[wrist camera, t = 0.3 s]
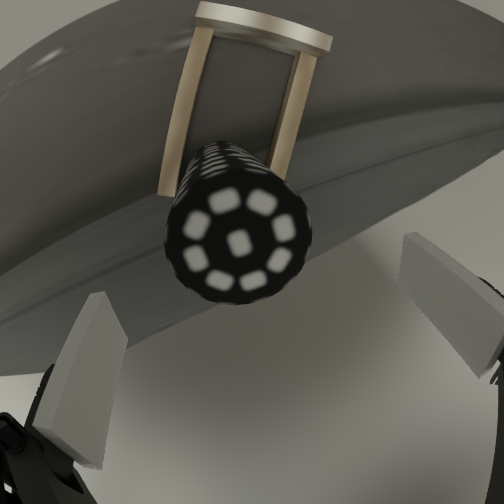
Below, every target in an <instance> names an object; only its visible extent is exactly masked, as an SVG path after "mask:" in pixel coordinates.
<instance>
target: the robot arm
mask: <svg viewBox="0 0 504 504" xmlns="http://www.w3.org/2000/svg"><path fill="white" fill-rule="evenodd" d="M397 285H398V287H399V288H400V289H402V291H403V292H404V293H405V294H406V295H407V296H408V297H409V298H410V299H411V300H412V301H413V302H414V303H415V304H416V306H417V307H418V308H419V309H420V310H421V311H422V312H423V313H424V314H425V315H426V317H427V318H428V319H429V320H430V321H431V322H432V323H433V324H434V325H435V327H436V328H437V329H438V330H439V331H440V332H441V333H442V335H443V336H444V337H445V338H446V339H447V340H448V341H449V343H450V344H451V345H452V346H453V347H454V349H455V350H456V351H457V352H458V354H459V355H460V356H461V357H462V358H463V360H464V361H465V362H466V363H467V365H468V366H469V367H470V368H471V370H472V371H473V372H474V373H475V375H476V376H477V377H478V378H481V377H482V376H484V375H485V374H487V373H488V372H489V371H491V369H492V368H493V366H494V364H495V362H496V361H497V359H498V360H499V361H500V363H501V364H500V366H499V367H498V369H497V370H496V372H495V373H494V375H493V377H492V378H491V380H490V384H492V383H493V382H494V380H495V379H496V377H497V376H498V379H497V381H496V383H495V385H498V425H497V437H496V446H495V454H494V461H493V467H492V473H491V478H490V484H489V488H488V492H487V497H486V500H485V504H504V296H503V295H501V293H500V292H499V291H498V290H497V289H494V287H493V286H492V285H491V284H489V283H488V282H487V281H486V280H483V279H482V278H480V277H477V276H476V275H474V274H473V273H472V272H471V271H469V270H468V269H467V268H466V267H464V266H463V265H462V264H460V263H459V262H458V261H456V260H455V259H454V258H452V257H451V256H450V255H448V254H447V253H446V252H444V251H443V250H441V249H440V248H439V247H437V246H436V245H435V244H433V243H432V242H430V241H429V240H428V239H426V238H425V237H423V236H422V235H420V234H419V233H417V232H412V233H408V234H404V238H403V247H402V255H401V263H400V270H399V277H398V283H397ZM127 343H128V338H127V336H126V334H125V332H124V331H123V329H122V327H121V325H120V323H119V321H118V319H117V317H116V314H115V312H114V310H113V308H112V306H111V304H110V302H109V300H108V297H107V295H106V293H105V291H103V292H98V293H92V294H90V295H89V297H88V299H87V300H86V302H85V304H84V306H83V308H82V310H81V312H80V314H79V316H78V317H77V319H76V321H75V323H74V325H73V327H72V329H71V331H70V333H69V336H68V338H67V340H66V342H65V344H64V346H63V348H62V350H61V353H60V355H59V357H58V359H57V362H56V364H52V365H51V366H50V367H49V369H48V370H47V371H46V372H45V374H44V376H43V378H42V380H41V383H40V387H38V390H37V392H36V394H37V395H36V396H35V398H34V400H33V403H32V406H31V408H30V411H29V414H28V416H27V419H26V422H25V425H24V427H23V426H22V425H21V424H19V422H18V421H17V420H16V419H15V418H13V417H12V416H11V415H10V414H9V413H7V412H2V413H0V504H97V502H96V501H95V499H94V498H93V496H92V495H91V493H90V492H89V490H88V489H87V487H86V485H85V483H84V482H83V480H82V478H81V476H80V475H79V473H78V471H77V470H76V469H75V468H74V467H73V462H74V461H76V462H77V463H79V464H80V465H81V466H83V467H85V468H92V469H98V470H102V466H103V458H104V452H105V445H106V439H107V433H108V427H109V421H110V416H111V411H112V406H113V401H114V396H115V392H116V387H117V383H118V378H119V374H120V370H121V366H122V362H123V358H124V354H125V350H126V346H127ZM4 483H5V484H7V485H8V486H10V487H11V488H12V493H9V492H7V491H6V490H5V488H4Z"/></svg>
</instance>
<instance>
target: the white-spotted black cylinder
mask: <svg viewBox="0 0 504 504" xmlns="http://www.w3.org/2000/svg"><path fill="white" fill-rule="evenodd" d="M311 241H312V226H311V219H310V216H309V213H308V210H307V207H306V205H305V204H304V202H303V200H302V199H301V197H300V195H299V194H298V193H297V192H296V191H295V190H294V189H293V188H292V187H291V186H290V185H289V184H288V183H287V182H285V181H284V180H283V179H282V178H280V177H279V176H278V175H277V174H275V173H274V172H273V171H272V170H270V169H269V168H268V167H267V166H265V165H264V164H263V163H261V162H260V161H259V160H257V159H256V158H255V157H254V156H252V155H251V154H250V153H248V152H247V151H246V150H244V149H243V148H241V147H240V146H238V145H236V144H233V143H231V142H224V141H223V142H214V143H210V144H208V145H206V146H204V147H202V148H201V149H200V150H198V151H197V152H196V153H195V154H194V156H193V157H192V159H191V161H190V163H189V165H188V167H187V170H186V172H185V175H184V177H183V180H182V182H181V185H180V187H179V190H178V192H177V195H176V197H175V200H174V203H173V205H172V208H171V211H170V213H169V217H168V220H167V223H166V226H165V235H164V245H165V252H166V257H167V260H168V262H169V265H170V268H171V269H172V271H173V272H174V274H175V276H176V277H177V279H178V280H179V281H180V282H181V283H182V284H183V285H184V286H185V287H186V288H187V289H189V290H190V291H191V292H193V293H194V294H196V295H197V296H199V297H202V298H204V299H206V300H208V301H212V302H216V303H220V304H228V305H241V304H250V303H254V302H257V301H261V300H263V299H266V298H268V297H270V296H273V295H274V294H276V293H277V292H279V291H280V290H282V289H283V288H285V287H286V286H287V285H288V284H289V283H290V282H291V281H292V280H293V279H294V278H295V277H296V276H297V274H298V273H299V272H300V270H301V269H302V267H303V265H304V263H305V262H306V260H307V258H308V254H309V251H310V247H311Z"/></svg>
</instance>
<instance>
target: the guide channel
mask: <svg viewBox="0 0 504 504" xmlns="http://www.w3.org/2000/svg"><path fill="white" fill-rule="evenodd" d="M195 20H196V29H195V32H194V35H193V38H192V41H191V44H190V48H189V51H188V54H187V58H186V61H185V65H184V68H183V72H182V76H181V79H180V83H179V87H178V91H177V95H176V99H175V103H174V108H173V112H172V117H171V121H170V126H169V131H168V135H167V140H166V146H165V151H164V156H163V162H162V168H161V174H160V180H159V186H158V193H157V195H163V196H169V197H174V196H175V194H176V191H177V185H178V179H179V174H180V169H181V163H182V158H183V153H184V148H185V143H186V139H187V134H188V129H189V125H190V120H191V116H192V112H193V108H194V104H195V99H196V95H197V92H198V88H199V84H200V80H201V76H202V73H203V69H204V65H205V62H206V58H207V55H208V52H209V48H210V45H211V42H212V39H213V36H217V37H223V38H228V39H233V40H237V41H242V42H246V43H250V44H255V45H258V46H262V47H266V48H270V49H273V50H277V51H280V52H283V53H287V54H290V55H293V56H295V57H294V60H293V64H292V68H291V71H290V75H289V79H288V83H287V86H286V90H285V94H284V98H283V101H282V105H281V109H280V113H279V116H278V120H277V124H276V128H275V132H274V135H273V139H272V143H271V147H270V151H269V154H268V158H267V162H266V166H267V167H268V168H269V169H270V170H272V171H273V172H274V173H275V174H277V175H278V176H279V177H280V178H282V179H283V180H284V179H285V176H286V172H287V169H288V165H289V161H290V158H291V154H292V150H293V147H294V143H295V139H296V136H297V132H298V128H299V124H300V121H301V117H302V113H303V109H304V106H305V102H306V98H307V94H308V91H309V87H310V83H311V79H312V75H313V72H314V68H315V64H316V60H317V57H319V56H322V55H324V54H326V53H328V52H329V51H330V47H331V43H332V39H333V37H332V36H329V35H327V34H324V33H322V32H319V31H316V30H314V29H311V28H308V27H305V26H303V25H300V24H297V23H294V22H291V21H287V20H284V19H281V18H278V17H274V16H271V15H267V14H263V13H259V12H255V11H251V10H247V9H242V8H238V7H233V6H228V5H222V4H216V3H210V2H203V1H201V2H200V4H199V7H198V10H197V13H196V15H195Z"/></svg>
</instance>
